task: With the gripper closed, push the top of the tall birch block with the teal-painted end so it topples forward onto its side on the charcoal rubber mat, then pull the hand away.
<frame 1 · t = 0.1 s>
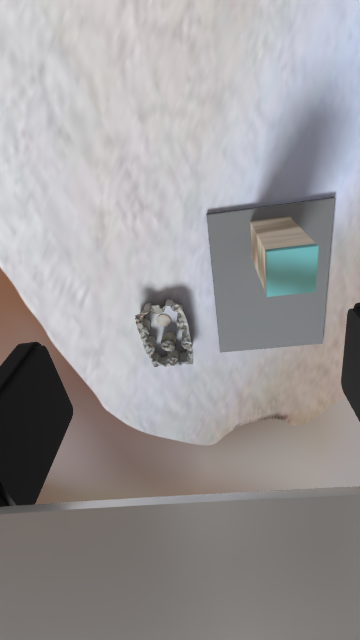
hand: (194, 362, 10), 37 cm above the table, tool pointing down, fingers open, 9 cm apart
rubber mat: (269, 283, 48), on the table
grey jagged stone ring: (167, 327, 54), on the table
birch block: (269, 237, 44), point 1 cm above the table, touching rubber mat
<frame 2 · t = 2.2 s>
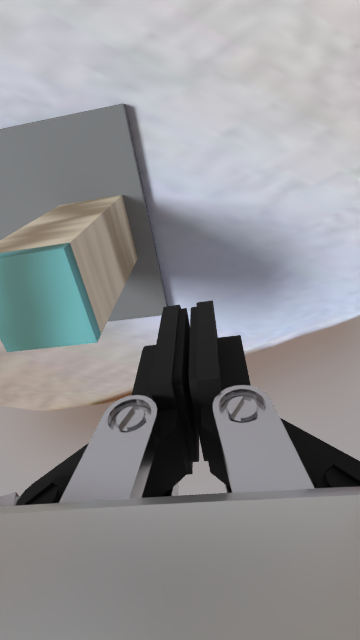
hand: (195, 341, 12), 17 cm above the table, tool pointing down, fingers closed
rubber mat: (21, 243, 28), on the table
birch block: (99, 232, 26), point 1 cm above the table, touching rubber mat
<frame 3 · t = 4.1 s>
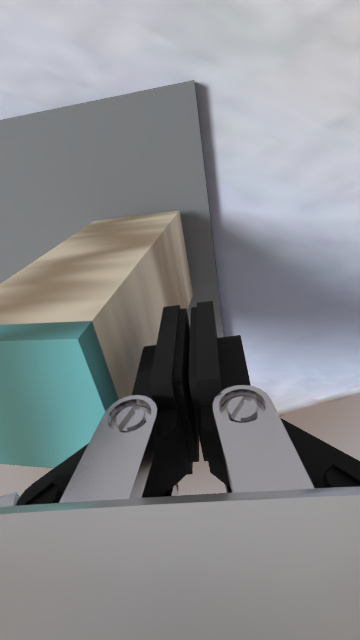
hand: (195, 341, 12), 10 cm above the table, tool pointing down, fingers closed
rubber mat: (40, 268, 21), on the table
birch block: (145, 258, 20), point 1 cm above the table, tilted 8°, touching rubber mat
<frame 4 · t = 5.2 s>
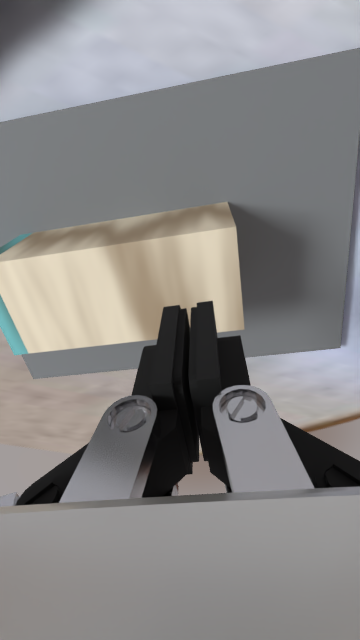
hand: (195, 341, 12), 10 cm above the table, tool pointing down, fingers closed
rubber mat: (156, 254, 20), on the table
birch block: (235, 262, 17), point 3 cm above the table, tilted 90°, touching rubber mat
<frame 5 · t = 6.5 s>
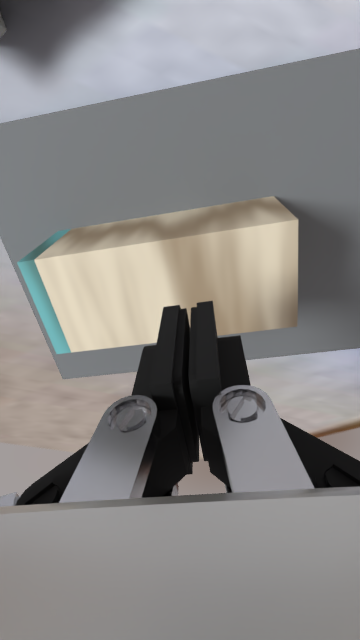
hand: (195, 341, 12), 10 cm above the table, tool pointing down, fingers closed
rubber mat: (195, 250, 20), on the table
birch block: (284, 257, 17), point 3 cm above the table, tilted 90°, touching rubber mat
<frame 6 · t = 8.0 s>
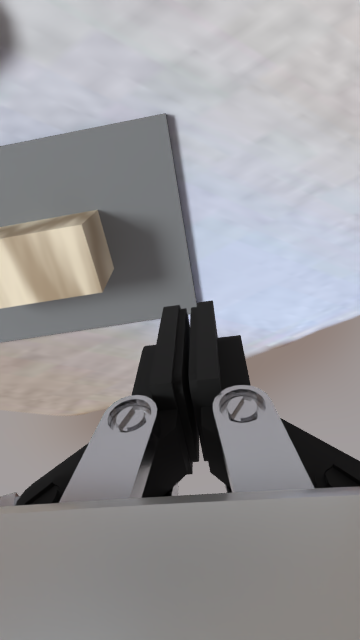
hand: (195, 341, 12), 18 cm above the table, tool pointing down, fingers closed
rubber mat: (57, 247, 29), on the table
birch block: (99, 249, 26), point 3 cm above the table, tilted 90°, touching rubber mat
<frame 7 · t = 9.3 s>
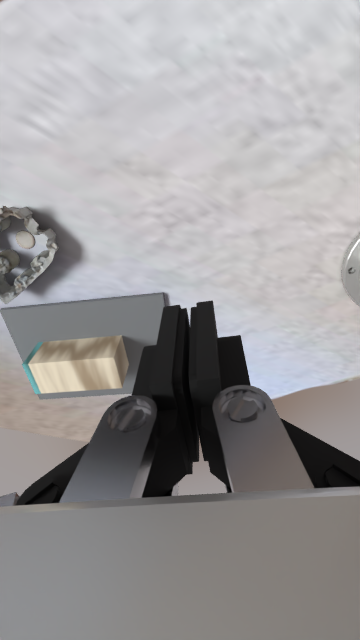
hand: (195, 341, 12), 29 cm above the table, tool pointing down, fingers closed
rubber mat: (95, 350, 48), on the table
grey jagged stone ring: (20, 248, 41), on the table
birch block: (121, 361, 45), point 3 cm above the table, tilted 90°, touching rubber mat
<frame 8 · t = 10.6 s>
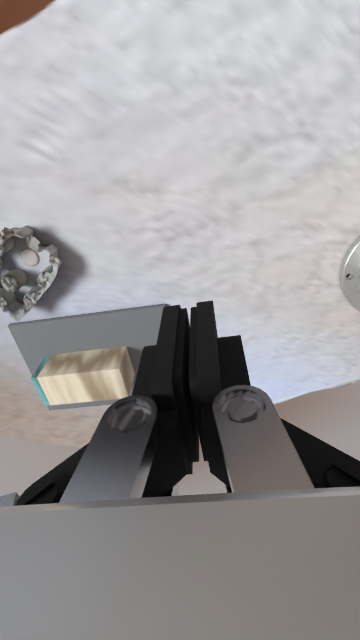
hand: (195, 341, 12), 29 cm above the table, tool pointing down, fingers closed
rubber mat: (101, 361, 49), on the table
grey jagged stone ring: (26, 266, 43), on the table
birch block: (127, 371, 46), point 3 cm above the table, tilted 90°, touching rubber mat
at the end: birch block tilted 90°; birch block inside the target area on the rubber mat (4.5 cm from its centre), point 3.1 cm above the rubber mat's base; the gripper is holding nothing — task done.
